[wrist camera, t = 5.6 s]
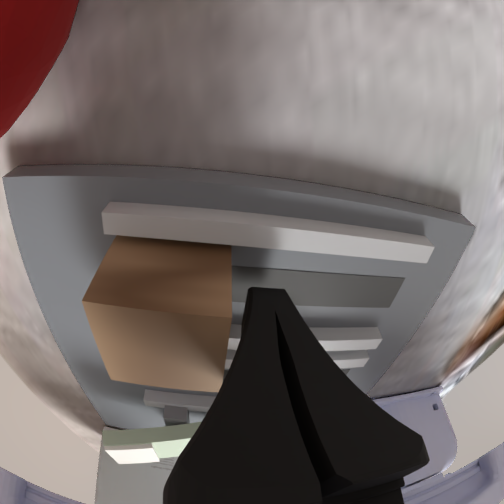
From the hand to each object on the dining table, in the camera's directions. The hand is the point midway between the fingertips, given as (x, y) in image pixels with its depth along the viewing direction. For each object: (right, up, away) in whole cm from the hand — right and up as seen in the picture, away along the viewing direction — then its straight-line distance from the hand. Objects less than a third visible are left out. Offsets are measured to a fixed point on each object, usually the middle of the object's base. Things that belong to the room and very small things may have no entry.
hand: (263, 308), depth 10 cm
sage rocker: (-5, -10, +5) cm, 13 cm away
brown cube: (-3, +1, 0) cm, 3 cm away
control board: (-2, -4, +6) cm, 7 cm away
